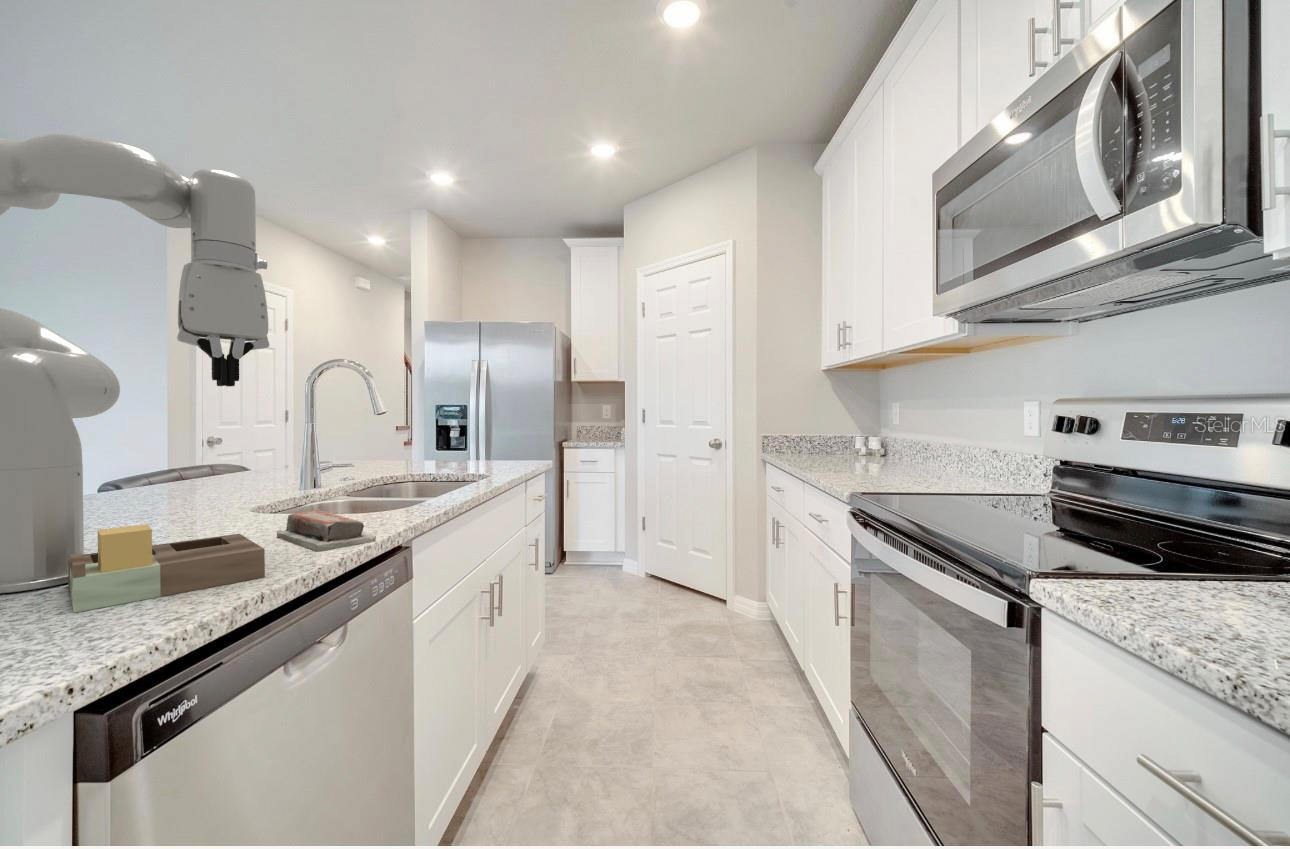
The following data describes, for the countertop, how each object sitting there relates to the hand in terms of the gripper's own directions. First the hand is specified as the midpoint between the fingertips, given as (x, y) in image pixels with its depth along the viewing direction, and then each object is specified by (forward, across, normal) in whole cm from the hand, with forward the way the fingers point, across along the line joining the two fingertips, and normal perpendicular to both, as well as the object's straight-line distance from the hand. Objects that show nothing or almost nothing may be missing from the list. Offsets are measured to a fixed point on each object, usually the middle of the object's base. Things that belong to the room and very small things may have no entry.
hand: (225, 385), depth 79 cm
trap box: (+27, +7, +2) cm, 28 cm away
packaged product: (+28, -16, -10) cm, 34 cm away
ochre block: (+23, +11, +6) cm, 26 cm away
